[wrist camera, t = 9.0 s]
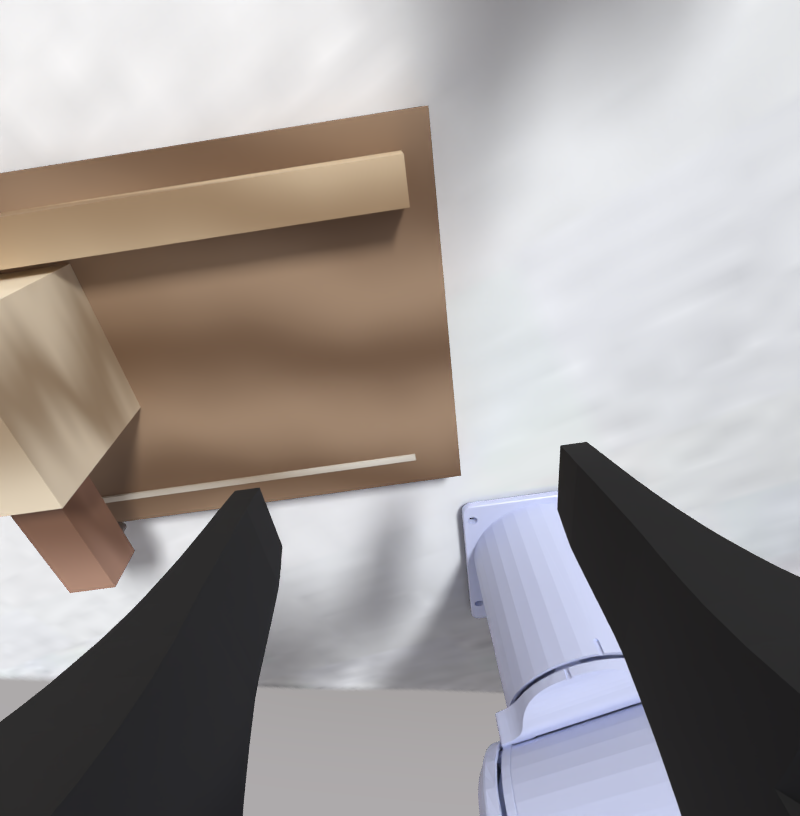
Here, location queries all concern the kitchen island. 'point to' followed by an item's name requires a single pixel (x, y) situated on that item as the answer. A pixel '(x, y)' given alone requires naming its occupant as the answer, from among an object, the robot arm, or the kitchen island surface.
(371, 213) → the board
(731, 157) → the kitchen island surface
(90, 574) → the mallet
